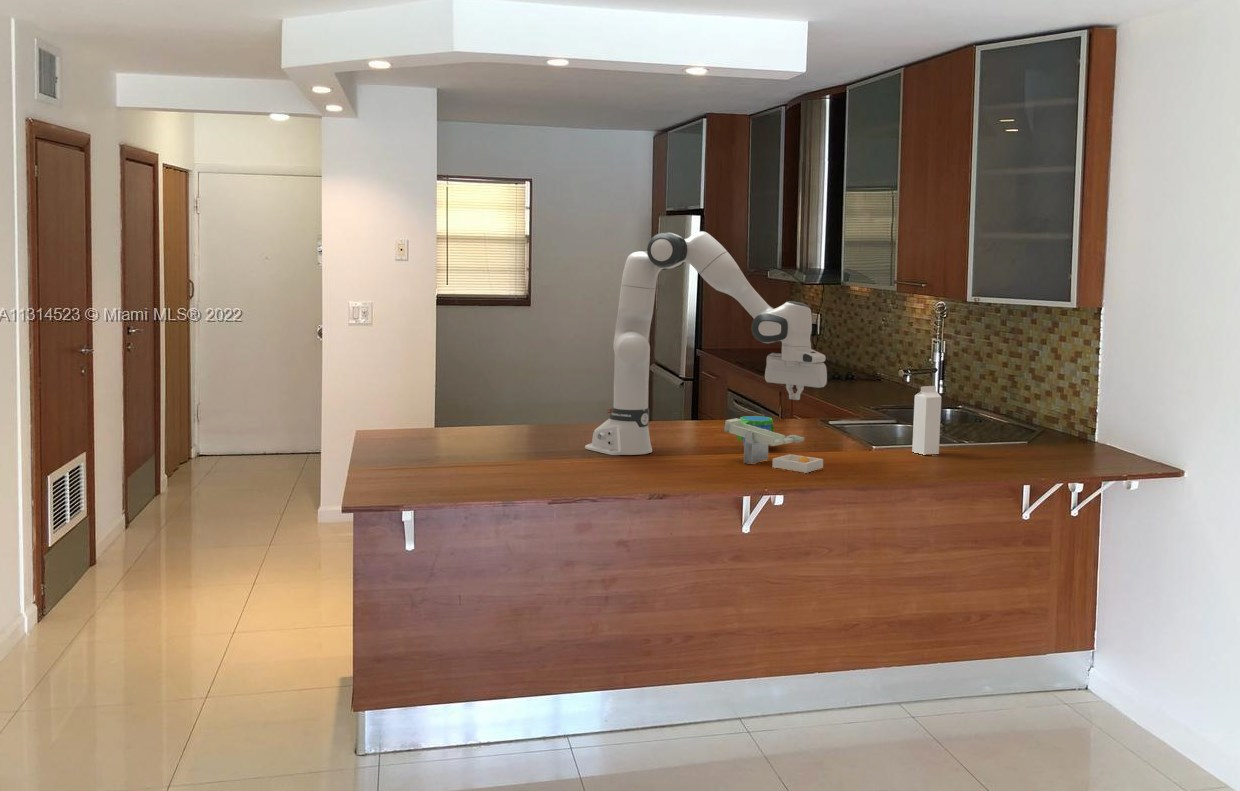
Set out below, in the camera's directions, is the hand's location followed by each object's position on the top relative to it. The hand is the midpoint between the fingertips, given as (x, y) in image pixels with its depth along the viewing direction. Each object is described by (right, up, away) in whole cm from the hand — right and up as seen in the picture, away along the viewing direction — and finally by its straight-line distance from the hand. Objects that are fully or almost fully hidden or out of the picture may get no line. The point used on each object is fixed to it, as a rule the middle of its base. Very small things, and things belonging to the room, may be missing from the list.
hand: (794, 399), depth 338 cm
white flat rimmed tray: (-1, -21, -10) cm, 23 cm away
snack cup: (-9, -16, +23) cm, 30 cm away
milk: (+45, -18, +16) cm, 51 cm away
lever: (-9, -11, +2) cm, 15 cm away
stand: (-12, -19, -1) cm, 23 cm away
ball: (+1, -19, -12) cm, 22 cm away
